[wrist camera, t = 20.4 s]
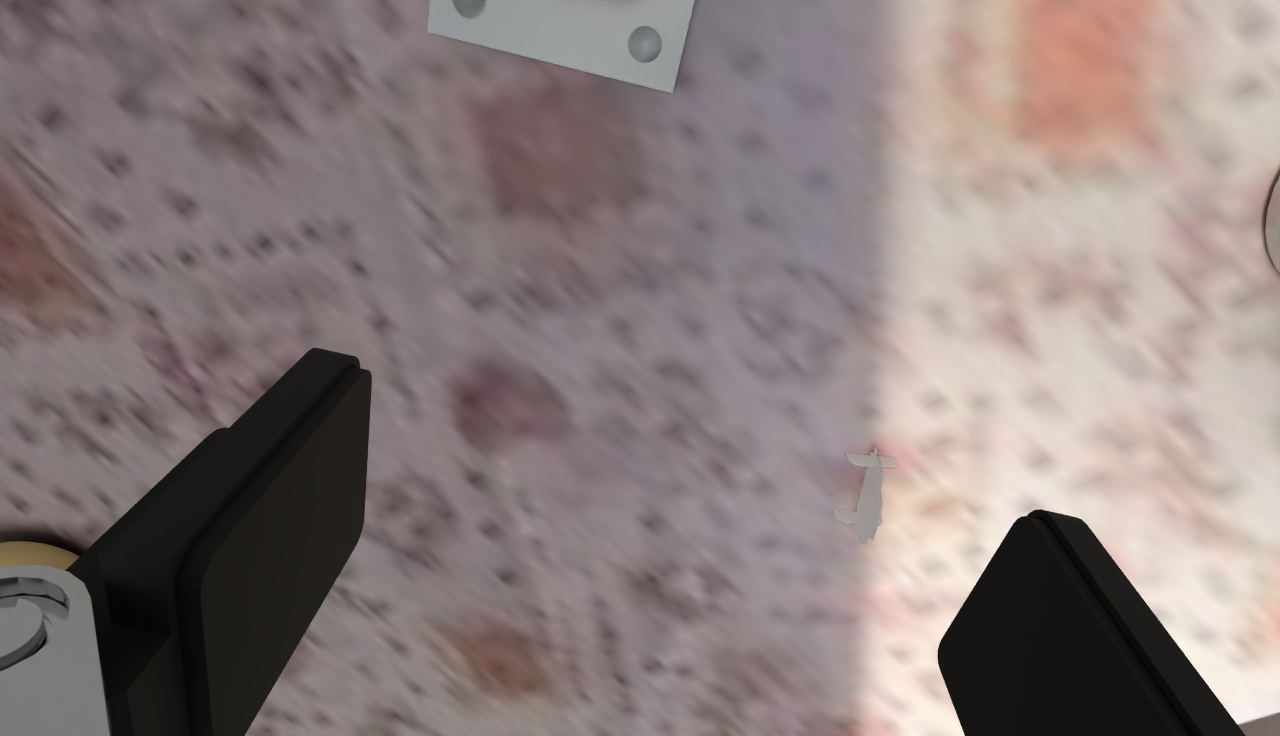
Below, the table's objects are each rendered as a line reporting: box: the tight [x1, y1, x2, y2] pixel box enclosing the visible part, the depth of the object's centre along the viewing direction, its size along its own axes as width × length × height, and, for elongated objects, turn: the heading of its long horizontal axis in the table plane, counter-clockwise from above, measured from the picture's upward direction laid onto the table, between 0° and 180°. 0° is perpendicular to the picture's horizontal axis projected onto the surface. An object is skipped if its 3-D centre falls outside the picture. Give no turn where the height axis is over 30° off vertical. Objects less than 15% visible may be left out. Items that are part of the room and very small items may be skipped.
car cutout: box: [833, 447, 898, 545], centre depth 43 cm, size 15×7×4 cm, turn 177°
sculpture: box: [0, 541, 80, 571], centre depth 50 cm, size 12×12×11 cm
